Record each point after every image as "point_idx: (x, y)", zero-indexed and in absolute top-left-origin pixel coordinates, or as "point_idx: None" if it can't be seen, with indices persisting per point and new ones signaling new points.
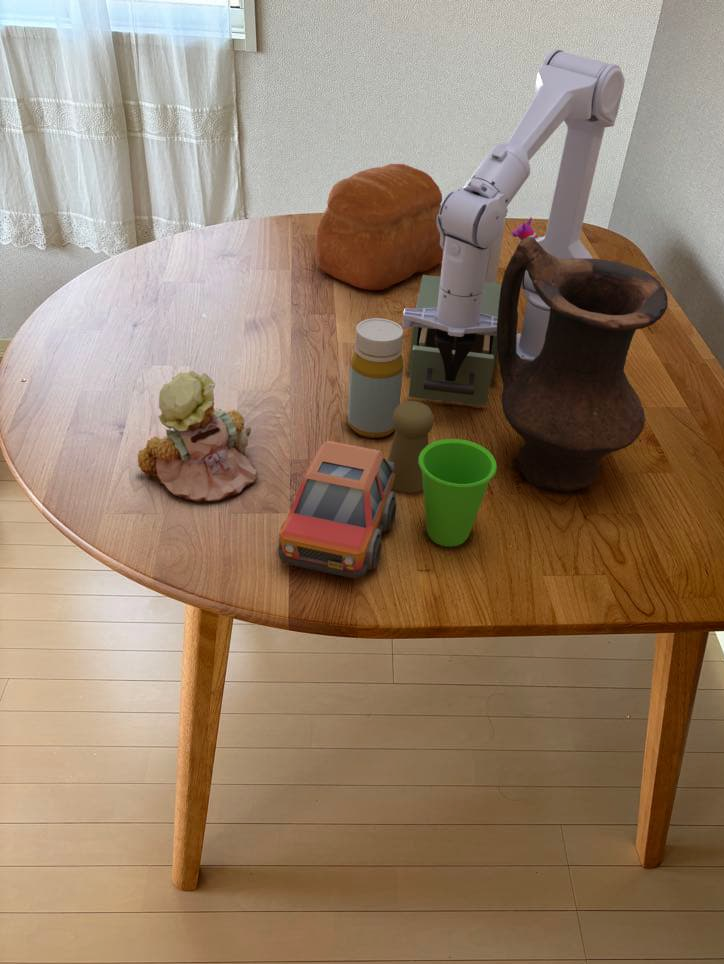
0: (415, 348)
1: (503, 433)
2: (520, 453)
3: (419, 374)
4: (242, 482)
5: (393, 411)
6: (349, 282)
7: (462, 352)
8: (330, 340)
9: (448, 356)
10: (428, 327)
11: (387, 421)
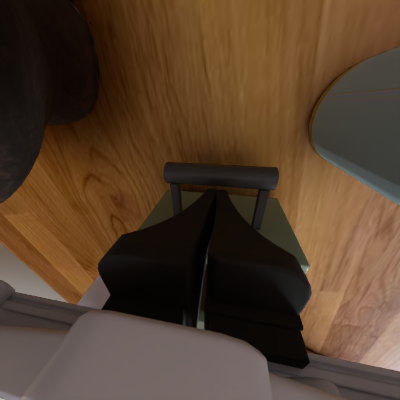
0: (302, 268)
1: (139, 138)
2: (84, 51)
3: (272, 221)
4: None
5: (366, 77)
6: (308, 352)
7: (171, 228)
8: (353, 295)
9: (225, 221)
10: (350, 367)
11: (370, 63)
